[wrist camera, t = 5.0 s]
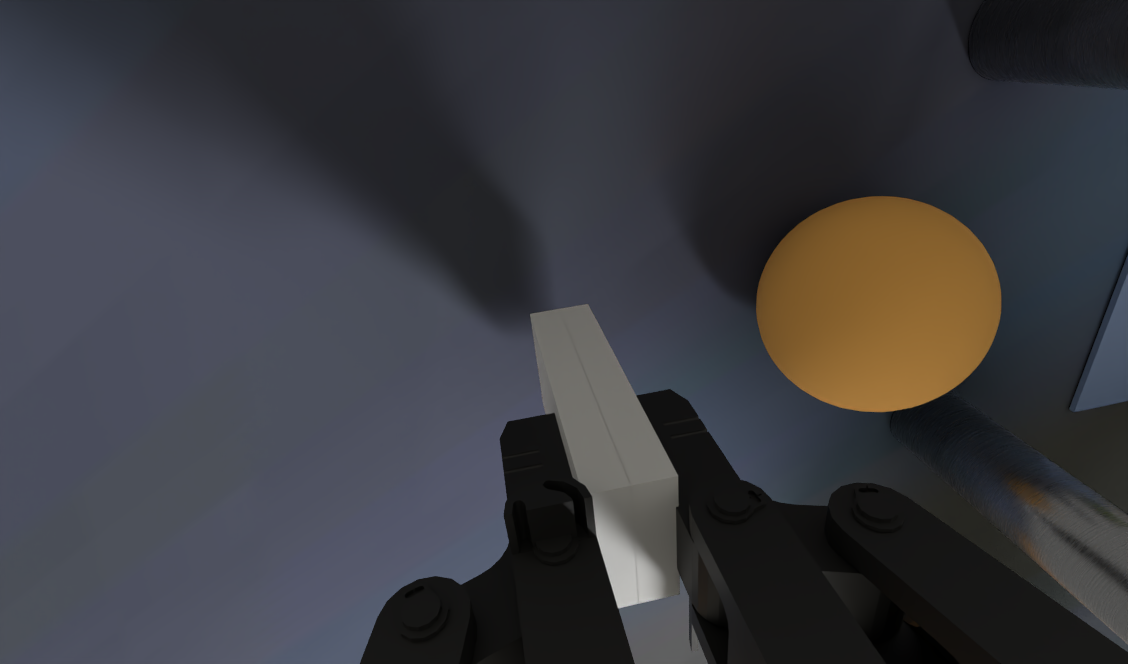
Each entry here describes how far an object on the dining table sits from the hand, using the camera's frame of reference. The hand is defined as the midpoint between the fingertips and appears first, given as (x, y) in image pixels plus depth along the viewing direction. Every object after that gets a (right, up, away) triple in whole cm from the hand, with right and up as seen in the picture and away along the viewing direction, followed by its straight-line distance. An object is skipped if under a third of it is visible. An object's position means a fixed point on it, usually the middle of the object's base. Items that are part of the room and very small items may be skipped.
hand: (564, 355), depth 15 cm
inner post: (+13, -2, +6) cm, 15 cm away
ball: (+8, +1, 0) cm, 8 cm away
